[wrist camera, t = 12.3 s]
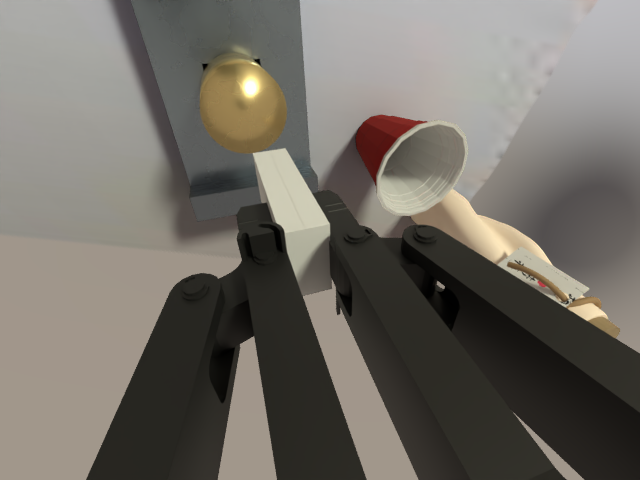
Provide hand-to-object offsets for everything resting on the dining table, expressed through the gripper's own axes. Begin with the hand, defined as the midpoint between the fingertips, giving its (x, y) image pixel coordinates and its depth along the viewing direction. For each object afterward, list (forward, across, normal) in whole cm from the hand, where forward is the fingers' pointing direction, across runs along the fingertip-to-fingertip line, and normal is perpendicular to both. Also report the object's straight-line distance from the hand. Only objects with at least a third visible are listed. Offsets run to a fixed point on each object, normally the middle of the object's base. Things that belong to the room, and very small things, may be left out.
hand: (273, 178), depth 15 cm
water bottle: (+24, +27, -20) cm, 42 cm away
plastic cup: (+24, +17, -8) cm, 31 cm away
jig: (+24, 0, 0) cm, 24 cm away
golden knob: (+24, 0, 0) cm, 24 cm away
